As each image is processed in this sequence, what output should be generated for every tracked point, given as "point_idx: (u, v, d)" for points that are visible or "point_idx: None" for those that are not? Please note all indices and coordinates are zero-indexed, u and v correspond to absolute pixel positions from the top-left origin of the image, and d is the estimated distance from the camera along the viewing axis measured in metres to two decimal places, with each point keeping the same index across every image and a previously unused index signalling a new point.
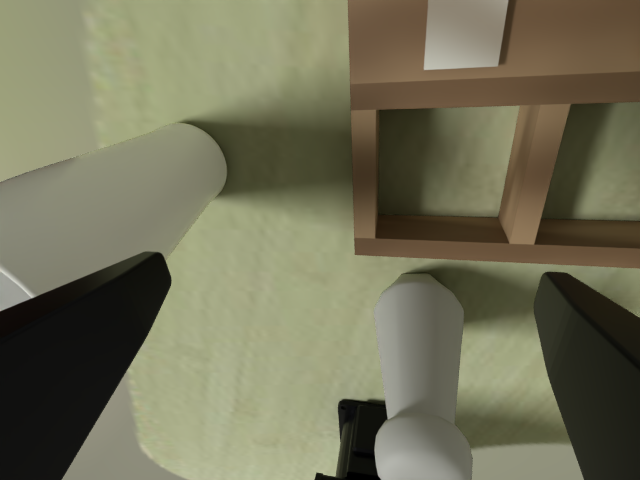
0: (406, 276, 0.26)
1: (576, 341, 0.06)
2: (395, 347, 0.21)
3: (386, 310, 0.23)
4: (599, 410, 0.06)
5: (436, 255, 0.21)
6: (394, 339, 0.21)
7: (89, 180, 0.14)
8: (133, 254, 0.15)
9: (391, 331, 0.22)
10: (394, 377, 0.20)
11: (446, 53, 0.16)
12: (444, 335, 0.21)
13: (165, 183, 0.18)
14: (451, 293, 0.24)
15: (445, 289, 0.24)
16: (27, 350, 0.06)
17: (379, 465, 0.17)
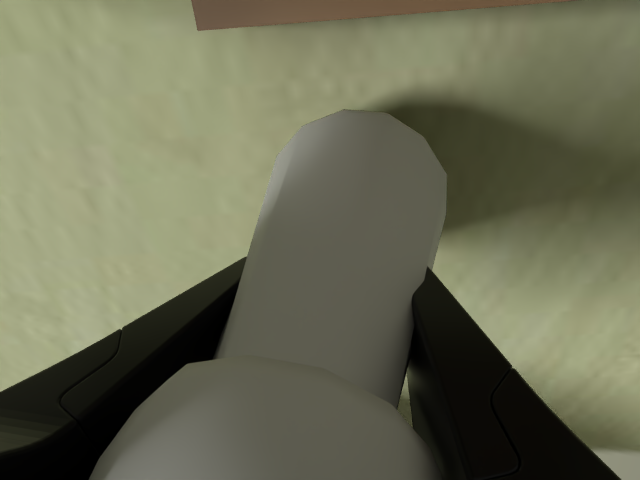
0: None
1: None
2: (268, 217, 0.08)
3: (278, 167, 0.11)
4: (418, 389, 0.06)
5: (375, 5, 0.09)
6: (272, 204, 0.09)
7: None
8: None
9: (272, 194, 0.09)
10: (245, 280, 0.07)
11: None
12: (392, 189, 0.08)
13: None
14: (419, 134, 0.11)
15: (406, 125, 0.11)
16: (169, 367, 0.06)
17: None
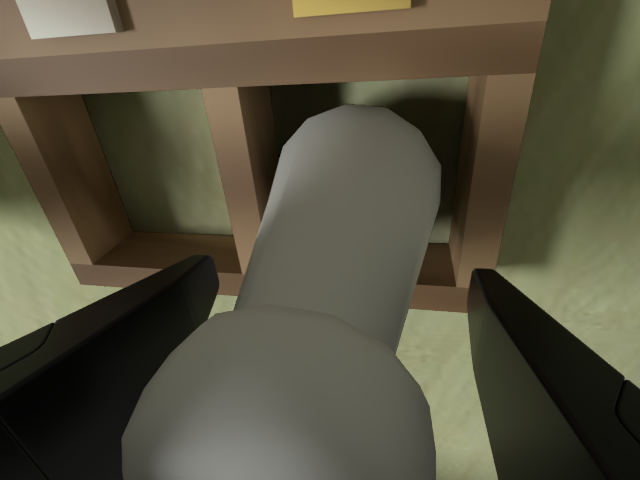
0: None
1: (488, 334, 0.07)
2: (278, 200, 0.09)
3: (284, 156, 0.12)
4: (502, 399, 0.06)
5: None
6: (281, 189, 0.10)
7: None
8: None
9: (281, 180, 0.10)
10: (258, 253, 0.08)
11: (46, 13, 0.11)
12: (390, 176, 0.09)
13: None
14: (416, 128, 0.12)
15: None
16: (96, 358, 0.06)
17: (124, 475, 0.05)
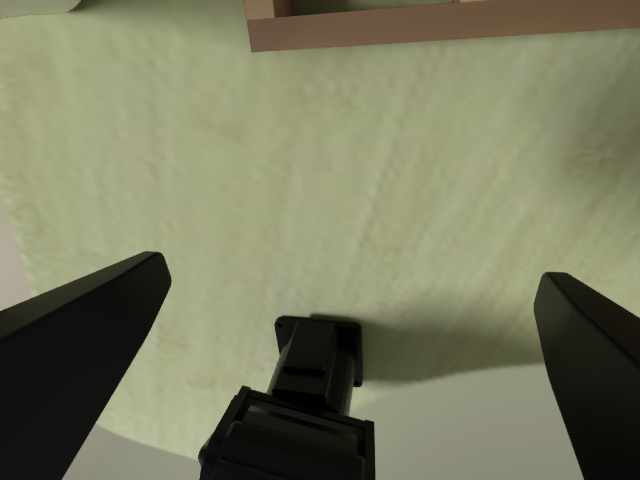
0: None
1: (576, 341, 0.06)
2: None
3: None
4: (599, 410, 0.06)
5: (360, 38, 0.15)
6: None
7: None
8: None
9: None
10: None
11: None
12: None
13: None
14: None
15: None
16: (27, 350, 0.06)
17: None
